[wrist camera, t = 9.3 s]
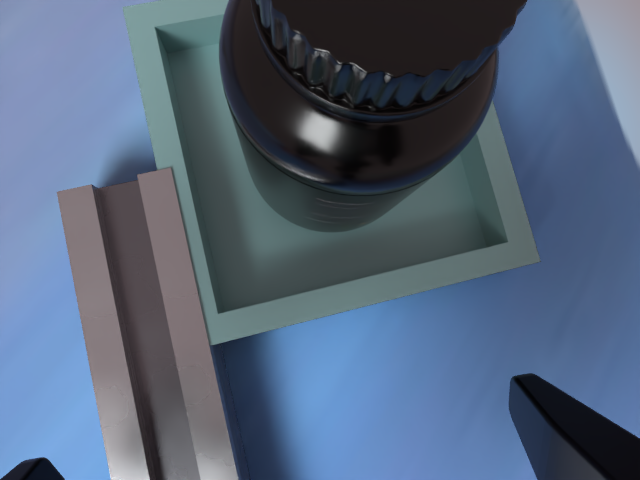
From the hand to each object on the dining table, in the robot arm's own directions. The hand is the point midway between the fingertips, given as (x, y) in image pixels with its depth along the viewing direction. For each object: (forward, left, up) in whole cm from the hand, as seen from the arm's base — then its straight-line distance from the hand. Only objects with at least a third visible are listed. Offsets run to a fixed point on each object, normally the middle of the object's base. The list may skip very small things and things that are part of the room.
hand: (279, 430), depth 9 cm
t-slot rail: (-2, +4, -10) cm, 11 cm away
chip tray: (+8, -4, -10) cm, 13 cm away
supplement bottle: (+8, -4, -10) cm, 13 cm away
